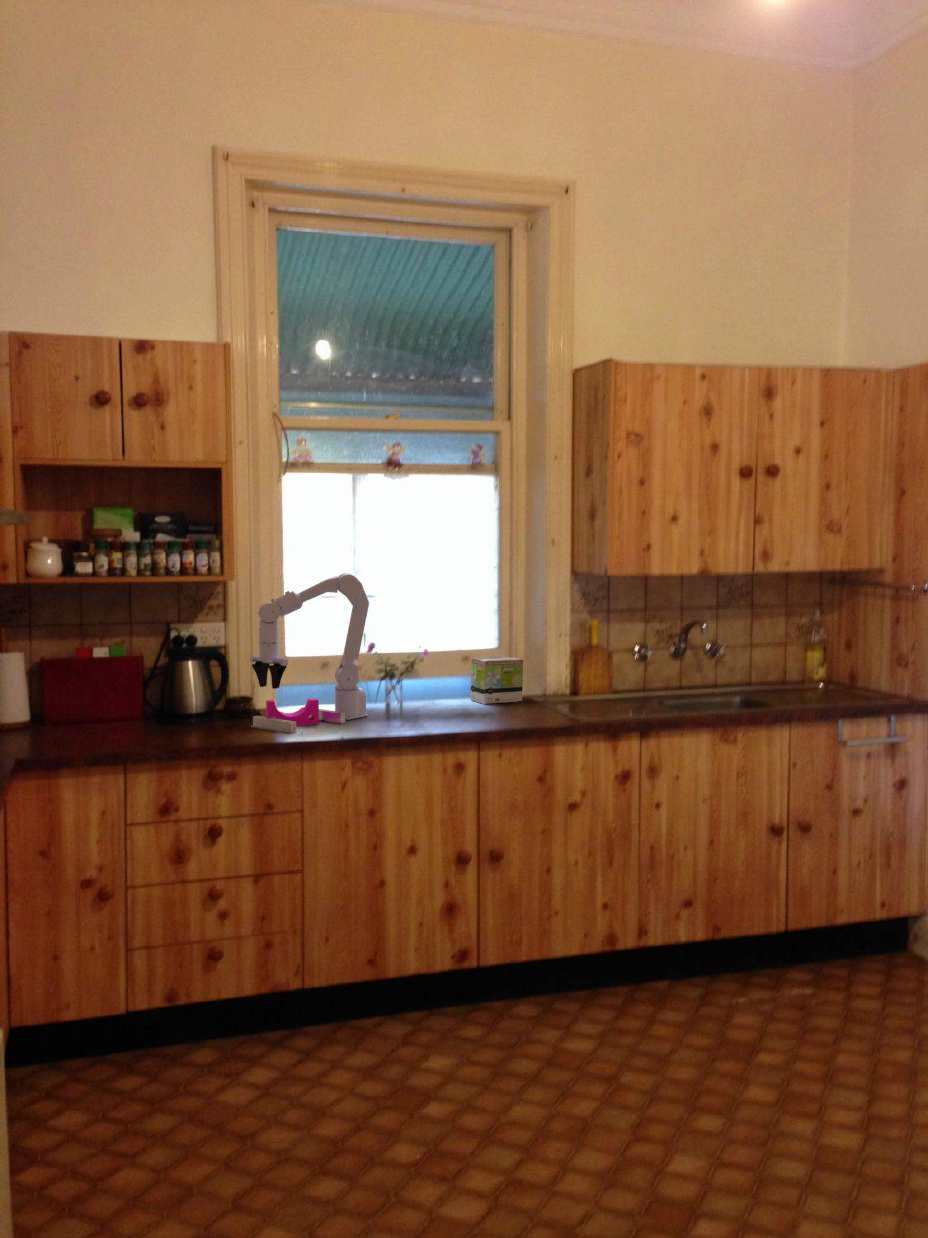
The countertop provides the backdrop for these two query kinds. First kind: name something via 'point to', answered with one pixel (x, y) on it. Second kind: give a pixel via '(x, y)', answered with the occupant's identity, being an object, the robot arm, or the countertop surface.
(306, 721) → the toy block
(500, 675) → the tea box
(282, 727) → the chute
